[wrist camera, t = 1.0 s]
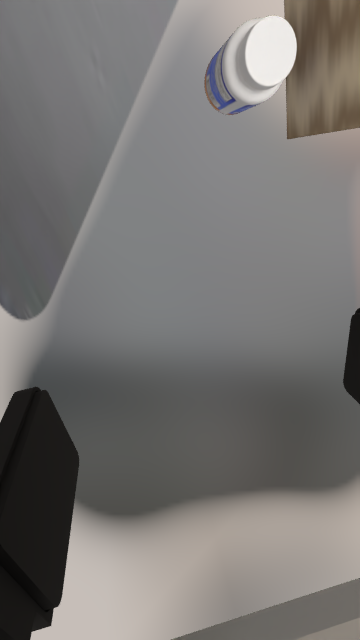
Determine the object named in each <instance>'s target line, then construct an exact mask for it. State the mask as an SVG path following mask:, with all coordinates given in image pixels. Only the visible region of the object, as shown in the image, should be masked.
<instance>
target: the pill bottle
mask: <svg viewBox="0 0 360 640" xmlns="http://www.w3.org/2000/svg"><path fill="white" fill-rule="evenodd" d="M296 51H297V43H296V37H295V33H294V31H293V29H292V27H291V25H290V24H289V23H288V22H287V21H286V20H285V19H284V18H282V17H280V16H274V15H273V16H267V17H265V18H255V19H252V20H249V21H247V22H245V23H243V24H242V25H241V26H240V27H238V28H237V30H236V31H235V32H234V33H233V34H232V35H231V36H230V37H229V39H228V40H227V41H226V43H225V44H224V45H223V46H222V47H221V48H220V50H219V51H218V52H217V53H216V54H215V56H214V57H213V58H212V60H211V61H210V63H209V65H208V67H207V70H206V74H205V91H206V95H207V98H208V100H209V102H210V104H211V105H212V106H213V107H214V108H215V109H216V110H217V111H218V112H220V113H222V114H226V115H233V114H238V113H240V112H242V111H244V110H247V109H249V108H251V107H253V106H256V105H258V104H260V103H262V102H264V101H266V100H268V99H269V98H270V97H272V96H273V95H274V94H275V93H276V91H277V90H278V89H279V87H280V86H281V84H282V82H283V80H284V79H285V78H286V77H287V75H288V74H289V73H290V71H291V69H292V67H293V65H294V62H295V58H296Z"/></svg>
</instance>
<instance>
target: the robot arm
mask: <svg viewBox="0 0 360 640" xmlns="http://www.w3.org/2000/svg"><path fill="white" fill-rule="evenodd" d="M343 383H344V387H345V389H346V391H347V392H348V393H349V394H350V395H351V396H352V397H353V398H354V399H355V400H356V401H357V402H358V403H359V404H360V308H359V309H357V311H356V312H355V314H354V315H353V316H352V318H351V325H350V332H349V340H348V348H347V356H346V363H345V371H344V379H343ZM78 468H79V456H78V452H77V450H76V448H75V446H74V444H73V442H72V440H71V438H70V436H69V434H68V432H67V430H66V428H65V426H64V424H63V422H62V420H61V418H60V416H59V414H58V412H57V410H56V408H55V405H54V403H53V401H52V400H51V397H50V396H49V393H48V392H47V391H46V390H43V391H41V390H40V389H39V388H38V387H33V388H29V389H25V390H21V391H17V392H15V393H14V394H13V396H12V398H11V400H10V402H9V405H8V407H7V409H6V411H5V413H4V416H3V418H2V420H1V422H0V640H30V637H31V632H32V631H36V630H39V629H42V628H45V627H49V626H51V622H52V616H53V609H54V608H55V607H58V605H59V604H60V601H61V598H62V591H63V584H64V576H65V568H66V560H67V553H68V545H69V538H70V530H71V522H72V515H73V506H74V499H75V491H76V483H77V476H78ZM172 640H360V578H358V579H355V580H352V581H349V582H346V583H343V584H340V585H336V586H333V587H330V588H327V589H324V590H321V591H318V592H315V593H312V594H309V595H306V596H302V597H299V598H296V599H293V600H290V601H287V602H284V603H281V604H278V605H275V606H272V607H269V608H266V609H263V610H259V611H256V612H253V613H250V614H248V615H245V616H241V617H238V618H235V619H232V620H230V621H226V622H223V623H220V624H217V625H214V626H211V627H208V628H205V629H202V630H199V631H196V632H193V633H190V634H187V635H184V636H181V637H178V638H175V639H172Z"/></svg>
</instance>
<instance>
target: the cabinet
mask: <svg viewBox="0 0 360 640" xmlns="http://www.w3.org/2000/svg"><path fill="white" fill-rule="evenodd" d="M284 6H285V7H284V8H285V20H286V21H287V22H288V23H289V24H290V25H291V27H292V29H293V31H294V33H295V37H296V43H297V51H296V58H295V62H294V65H293V67H292V69H291V71H290V73H289V74H288V75H287V77H286V101H287V102H286V103H287V139H292V138H298V137H304V136H310V135H317V134H323V133H329V132H335V131H341V130H347V129H354V128H360V0H284Z"/></svg>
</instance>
